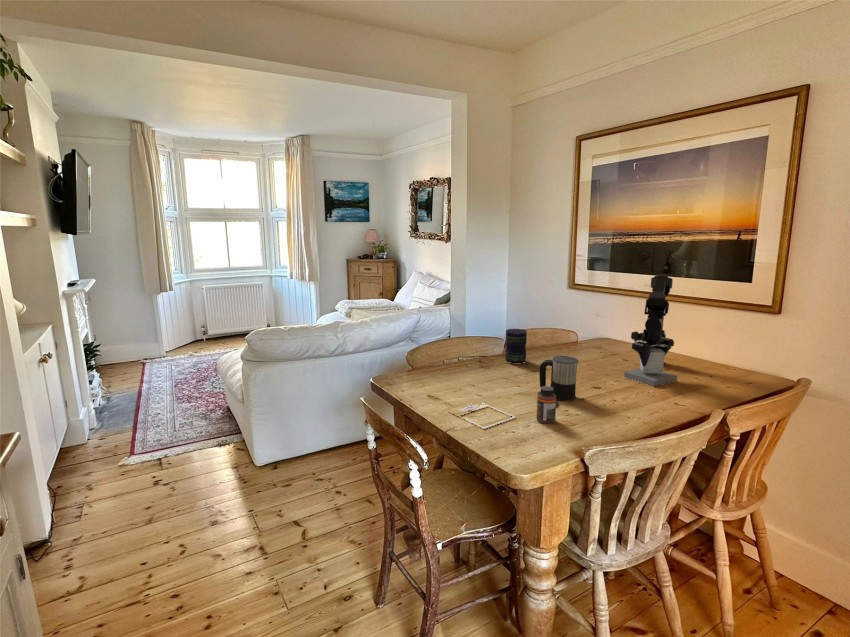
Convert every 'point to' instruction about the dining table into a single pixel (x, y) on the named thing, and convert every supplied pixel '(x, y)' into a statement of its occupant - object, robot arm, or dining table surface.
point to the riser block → (650, 377)
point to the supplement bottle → (546, 405)
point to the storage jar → (515, 345)
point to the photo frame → (483, 407)
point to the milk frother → (561, 376)
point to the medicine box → (654, 361)
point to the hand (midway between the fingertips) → (651, 364)
